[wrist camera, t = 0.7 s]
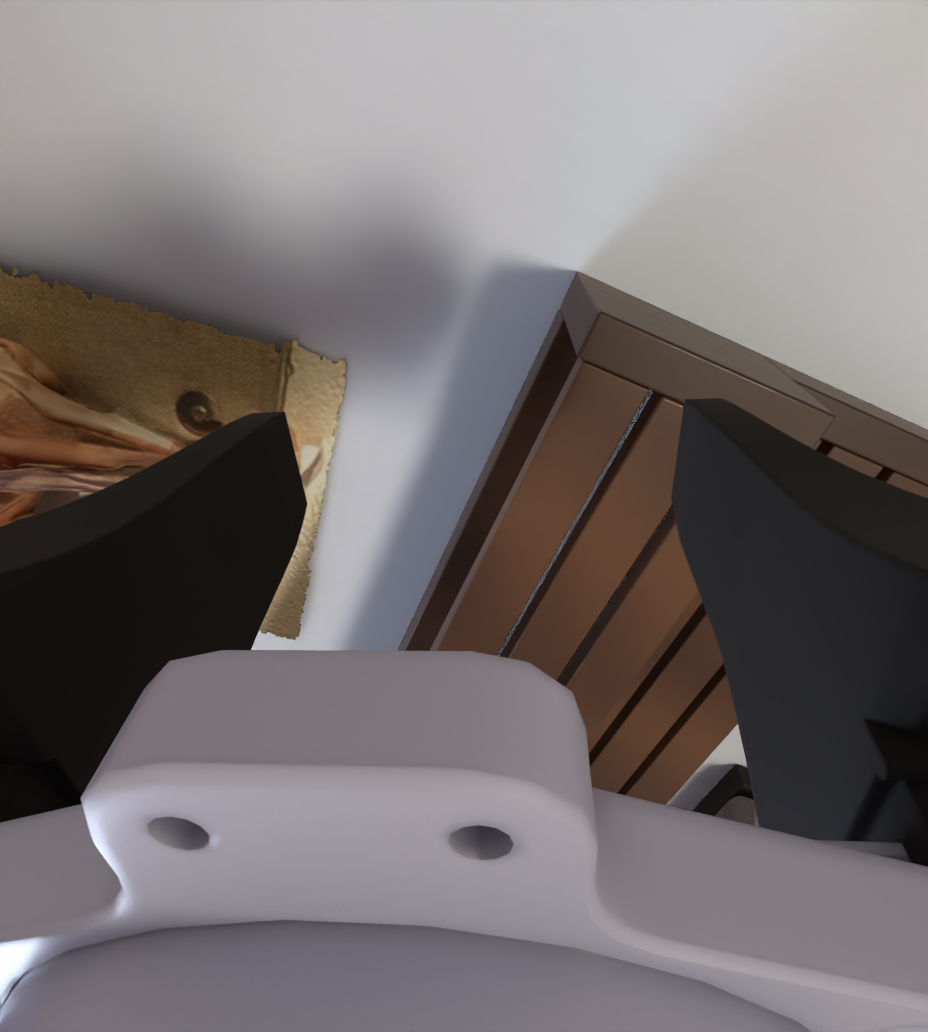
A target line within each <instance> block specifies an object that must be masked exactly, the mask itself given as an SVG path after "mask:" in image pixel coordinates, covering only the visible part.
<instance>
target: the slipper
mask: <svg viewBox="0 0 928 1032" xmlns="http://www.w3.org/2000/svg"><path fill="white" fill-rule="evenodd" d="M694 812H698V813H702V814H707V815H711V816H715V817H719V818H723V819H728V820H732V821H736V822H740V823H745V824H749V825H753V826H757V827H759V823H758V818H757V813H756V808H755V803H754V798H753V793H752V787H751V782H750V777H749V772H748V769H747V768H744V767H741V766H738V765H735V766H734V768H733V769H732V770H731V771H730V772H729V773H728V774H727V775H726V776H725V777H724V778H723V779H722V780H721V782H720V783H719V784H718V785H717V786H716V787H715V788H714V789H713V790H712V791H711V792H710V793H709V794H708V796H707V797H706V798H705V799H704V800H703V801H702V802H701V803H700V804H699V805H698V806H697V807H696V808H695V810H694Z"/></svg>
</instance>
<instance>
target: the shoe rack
mask: <svg viewBox="0 0 928 1032" xmlns="http://www.w3.org/2000/svg"><path fill="white" fill-rule="evenodd" d="M649 389H651V390H653V391H654V392H653V394H652V395H651V397H650V399H649V400H648V402H647V404H646V406H645V407H644V409H643V411H642V412H641V414H640V416H639V418H638V419H637V421H636V423H635V425H634V426H633V428H632V430H631V431H630V433H629V435H628V437H627V438H626V440H625V442H624V443H623V445H622V447H621V449H620V450H619V452H618V454H617V455H616V457H615V459H614V461H613V462H612V464H611V466H610V468H609V469H608V471H607V473H606V474H605V476H604V478H603V480H602V481H601V483H600V485H599V486H598V488H597V490H596V492H595V493H594V495H593V497H592V498H591V500H590V502H589V504H588V505H587V507H586V509H585V510H584V512H583V514H582V516H581V517H580V519H579V521H578V523H577V524H576V526H575V528H574V529H573V531H572V533H571V535H570V536H569V538H568V540H567V541H566V543H565V545H564V547H563V548H562V550H561V552H560V553H559V555H558V557H557V559H556V560H555V562H554V564H553V566H552V567H551V569H550V571H549V572H548V574H547V576H546V578H545V579H544V581H543V583H542V584H541V586H540V588H539V590H538V591H537V593H536V595H535V596H534V598H533V600H532V602H531V603H530V605H529V607H528V608H527V610H526V612H525V614H524V615H523V617H522V619H521V621H520V622H519V624H518V626H517V627H516V629H515V631H514V633H513V634H512V636H511V638H510V639H509V641H508V643H507V645H506V646H505V648H504V650H503V651H502V653H501V655H500V657H505V658H511V659H516V660H521V661H526V662H529V663H531V664H532V665H534V666H535V667H537V668H538V669H540V670H541V671H543V672H544V673H545V674H547V675H548V676H550V677H551V678H553V679H554V680H556V681H557V679H558V678H559V676H560V675H561V673H562V671H563V670H564V668H565V667H566V665H567V664H568V662H569V661H570V659H571V658H572V656H573V655H574V653H575V652H576V650H577V649H578V647H579V646H580V644H581V643H582V641H583V640H584V638H585V636H586V635H587V633H588V632H589V630H590V629H591V627H592V626H593V624H594V623H595V621H596V620H597V618H598V617H599V615H600V614H601V612H602V611H603V609H604V608H605V606H606V604H607V603H608V601H609V600H610V598H611V597H612V595H613V594H614V592H615V591H616V589H617V588H618V586H619V585H620V583H621V582H622V580H623V579H624V577H625V576H626V574H627V573H628V571H629V569H630V568H631V566H632V565H633V563H634V562H635V560H636V559H637V557H638V556H639V554H640V553H641V551H642V550H643V548H644V547H645V545H646V544H647V542H648V541H649V539H650V537H651V536H652V534H653V533H654V531H655V530H656V528H657V527H658V525H659V524H660V522H661V521H662V519H663V518H664V516H665V515H666V513H667V512H668V510H669V509H670V507H671V505H672V499H671V495H672V488H673V481H674V473H675V466H676V459H677V451H678V444H679V437H680V429H681V422H682V415H683V407H684V400H685V399H710V398H722V399H724V400H727V401H729V402H731V403H733V404H735V405H737V406H739V407H740V408H742V409H744V410H746V411H748V412H749V413H751V414H753V415H754V416H756V417H758V418H759V419H761V420H763V421H765V422H766V423H768V424H770V425H771V426H773V427H775V428H777V429H778V430H780V431H782V432H783V433H785V434H787V435H789V436H790V437H792V438H794V439H796V440H798V441H799V442H801V443H803V444H805V445H807V446H809V447H810V448H812V449H814V450H816V451H818V452H820V453H822V454H824V455H826V456H828V457H830V458H832V459H834V460H836V461H838V462H840V463H842V464H844V465H846V466H848V467H850V468H852V469H855V470H857V471H859V472H861V473H864V474H866V475H868V476H871V477H873V478H876V479H878V480H881V481H883V482H886V483H888V484H891V485H893V486H896V487H898V488H901V489H903V490H906V491H909V492H911V493H914V494H917V495H920V496H923V497H926V498H928V430H927V429H924V428H922V427H920V426H918V425H916V424H913V423H911V422H909V421H907V420H905V419H902V418H900V417H898V416H896V415H894V414H891V413H889V412H887V411H885V410H883V409H880V408H878V407H876V406H874V405H872V404H869V403H867V402H865V401H863V400H861V399H858V398H856V397H854V396H852V395H849V394H847V393H845V392H843V391H841V390H838V389H836V388H834V387H832V386H830V385H827V384H825V383H823V382H821V381H819V380H816V379H814V378H812V377H810V376H808V375H805V374H803V373H801V372H799V371H797V370H794V369H792V368H790V367H788V366H786V365H783V364H781V363H779V362H777V361H775V360H772V359H770V358H768V357H766V356H762V355H761V354H759V353H757V352H755V351H753V350H750V349H748V348H746V347H744V346H742V345H739V344H737V343H735V342H733V341H731V340H728V339H726V338H724V337H722V336H720V335H717V334H715V333H713V332H711V331H708V330H706V329H704V328H702V327H700V326H697V325H695V324H693V323H691V322H689V321H686V320H684V319H682V318H680V317H678V316H675V315H673V314H671V313H669V312H667V311H664V310H662V309H660V308H658V307H656V306H653V305H651V304H649V303H647V302H645V301H642V300H640V299H638V298H636V297H634V296H631V295H629V294H627V293H625V292H623V291H620V290H618V289H616V288H614V287H612V286H609V285H607V284H605V283H603V282H600V281H598V280H596V279H594V278H592V277H589V276H587V275H585V274H583V273H581V272H577V273H576V275H575V277H574V279H573V281H572V283H571V285H570V287H569V289H568V292H567V294H566V296H565V298H564V300H563V302H562V304H561V309H559V310H558V312H557V315H556V317H555V319H554V321H553V323H552V325H551V327H550V329H549V331H548V334H547V336H546V338H545V340H544V342H543V344H542V346H541V348H540V350H539V353H538V355H537V357H536V359H535V361H534V363H533V365H532V367H531V369H530V372H529V374H528V376H527V378H526V380H525V382H524V384H523V386H522V389H521V391H520V393H519V395H518V397H517V399H516V401H515V403H514V405H513V408H512V410H511V412H510V414H509V416H508V418H507V420H506V422H505V424H504V427H503V429H502V431H501V433H500V435H499V437H498V439H497V441H496V443H495V446H494V448H493V450H492V452H491V454H490V456H489V458H488V460H487V462H486V465H485V467H484V469H483V471H482V473H481V475H480V477H479V479H478V481H477V484H476V486H475V488H474V490H473V492H472V494H471V496H470V498H469V500H468V503H467V505H466V507H465V509H464V511H463V513H462V515H461V517H460V519H459V522H458V524H457V526H456V528H455V530H454V532H453V534H452V536H451V538H450V541H449V543H448V545H447V547H446V549H445V551H444V553H443V555H442V558H441V560H440V562H439V564H438V566H437V568H436V570H435V572H434V574H433V577H432V579H431V581H430V583H429V585H428V587H427V589H426V591H425V593H424V596H423V598H422V600H421V602H420V604H419V606H418V608H417V610H416V612H415V615H414V617H413V619H412V621H411V623H410V625H409V627H408V629H407V631H406V634H405V636H404V638H403V640H402V642H401V644H400V646H399V648H398V650H397V651H474V652H479V653H484V654H489V655H495V656H496V655H497V653H498V651H499V650H500V648H501V646H502V644H503V643H504V641H505V639H506V637H507V636H508V634H509V632H510V630H511V629H512V627H513V625H514V624H515V622H516V620H517V618H518V617H519V615H520V613H521V611H522V610H523V608H524V606H525V604H526V603H527V601H528V599H529V598H530V596H531V594H532V592H533V591H534V589H535V587H536V585H537V584H538V582H539V580H540V579H541V577H542V575H543V573H544V572H545V570H546V568H547V566H548V565H549V563H550V561H551V559H552V558H553V556H554V554H555V553H556V551H557V549H558V547H559V546H560V544H561V542H562V540H563V539H564V537H565V535H566V533H567V532H568V530H569V528H570V527H571V525H572V523H573V521H574V520H575V518H576V516H577V514H578V513H579V511H580V509H581V508H582V506H583V504H584V502H585V501H586V499H587V497H588V495H589V494H590V492H591V490H592V488H593V487H594V485H595V483H596V482H597V480H598V478H599V476H600V475H601V473H602V471H603V469H604V468H605V466H606V464H607V462H608V461H609V459H610V457H611V456H612V454H613V452H614V450H615V449H616V447H617V445H618V443H619V442H620V440H621V438H622V437H623V435H624V433H625V431H626V430H627V428H628V426H629V424H630V423H631V421H632V419H633V417H634V416H635V414H636V412H637V411H638V409H639V407H640V405H641V404H642V402H643V400H644V398H645V397H646V395H647V393H648V391H649ZM557 682H559V683H560V684H562V685H563V686H564V687H566V688H567V689H569V690H570V691H572V692H573V694H574V697H575V700H576V703H577V705H578V708H579V711H580V713H581V716H582V719H583V722H584V724H585V727H586V733H587V743H588V754H589V764H590V774H591V784H592V788H596V789H600V790H605V791H609V792H613V793H617V794H622V795H626V796H630V797H634V798H639V799H643V800H647V801H651V802H656V803H660V804H664V805H666V804H667V803H668V801H669V800H670V799H671V798H672V797H673V796H674V795H675V794H676V792H677V791H678V790H679V789H680V788H681V787H682V786H683V785H684V783H685V782H686V781H687V780H688V779H689V778H690V777H691V776H692V774H693V773H694V772H695V771H696V770H697V769H698V768H699V767H700V765H701V764H702V763H703V762H704V761H705V760H706V759H707V758H708V756H709V755H710V754H711V753H712V752H713V751H714V750H715V749H716V747H717V746H718V745H719V744H720V743H721V742H722V741H723V740H724V738H725V737H726V736H727V735H728V734H729V733H730V732H731V731H732V729H733V728H734V727H735V726H736V725H737V724H738V721H737V716H736V712H735V707H734V703H733V699H732V695H731V691H730V687H729V682H728V678H727V674H726V670H725V666H724V662H723V658H722V655H721V652H720V649H719V646H718V643H717V639H716V636H715V634H714V631H713V628H712V626H711V623H710V621H709V618H708V615H707V613H706V610H705V607H704V605H703V602H702V599H701V597H700V594H699V591H698V589H697V586H696V583H695V581H694V578H693V576H692V573H691V570H690V567H689V565H688V562H687V559H686V557H685V554H684V551H683V548H682V545H681V543H680V539H679V534H678V529H677V525H676V520H675V515H674V509H673V507H672V508H671V510H670V511H669V513H668V514H667V516H666V517H665V519H664V520H663V522H662V523H661V525H660V526H659V528H658V529H657V531H656V532H655V534H654V535H653V537H652V538H651V540H650V541H649V543H648V544H647V546H646V548H645V549H644V551H643V552H642V554H641V555H640V557H639V558H638V560H637V561H636V563H635V564H634V566H633V567H632V569H631V570H630V572H629V573H628V575H627V576H626V578H625V579H624V581H623V582H622V584H621V586H620V587H619V589H618V590H617V592H616V593H615V595H614V596H613V598H612V599H611V601H610V602H609V604H608V605H607V607H606V608H605V610H604V611H603V613H602V614H601V616H600V617H599V619H598V620H597V622H596V623H595V625H594V627H593V628H592V630H591V631H590V633H589V634H588V636H587V637H586V639H585V640H584V642H583V643H582V645H581V646H580V648H579V649H578V651H577V652H576V654H575V655H574V657H573V658H572V660H571V661H570V663H569V665H568V666H567V668H566V669H565V671H564V672H563V674H562V675H561V677H560V678H559V680H558V681H557Z"/></svg>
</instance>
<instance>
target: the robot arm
mask: <svg viewBox="0 0 928 1032" xmlns="http://www.w3.org/2000/svg"><path fill="white" fill-rule="evenodd" d="M671 499H672V504H673V509H674V515H675V520H676V525H677V529H678V534H679V539H680V543H681V545H682V548H683V551H684V554H685V557H686V559H687V562H688V565H689V567H690V570H691V573H692V576H693V578H694V581H695V583H696V586H697V589H698V591H699V594H700V597H701V599H702V602H703V605H704V607H705V610H706V613H707V615H708V618H709V621H710V623H711V626H712V628H713V631H714V634H715V636H716V639H717V643H718V646H719V649H720V652H721V655H722V658H723V662H724V666H725V670H726V674H727V678H728V682H729V687H730V691H731V695H732V699H733V703H734V707H735V712H736V716H737V721H738V725H739V730H740V734H741V739H742V744H743V748H744V753H745V757H746V762H747V767H748V772H749V777H750V782H751V787H752V793H753V798H754V803H755V808H756V813H757V818H758V823H759V827H757V826H753V825H749V824H745V823H740V822H736V821H732V820H728V819H723V818H719V817H715V816H711V815H707V814H702V813H698V812H694V811H690V810H685V809H681V808H677V807H673V806H668V805H664V804H660V803H656V802H651V801H647V800H643V799H639V798H634V797H630V796H626V795H622V794H617V793H613V792H609V791H605V790H600V789H596V788H592V784H591V774H590V764H589V754H588V743H587V733H586V727H585V724H584V722H583V719H582V716H581V713H580V711H579V708H578V705H577V703H576V700H575V697H574V694H573V692H572V691H570V690H569V689H567V688H566V687H564V686H563V685H562V684H560V683H559V682H557V681H556V680H554V679H553V678H551V677H550V676H548V675H547V674H545V673H544V672H543V671H541V670H540V669H538V668H537V667H535V666H534V665H532V664H531V663H529V662H526V661H521V660H516V659H511V658H505V657H500V656H495V655H489V654H484V653H479V652H474V651H315V650H251V648H252V646H253V643H254V641H255V638H256V636H257V633H258V631H259V629H260V627H261V625H262V622H263V620H264V618H265V616H266V613H267V611H268V609H269V607H270V605H271V602H272V600H273V598H274V596H275V594H276V591H277V589H278V587H279V585H280V583H281V580H282V578H283V576H284V574H285V571H286V569H287V567H288V565H289V562H290V560H291V558H292V555H293V553H294V551H295V548H296V546H297V542H298V539H299V535H300V532H301V528H302V524H303V520H304V516H305V512H306V508H307V500H306V496H305V491H304V487H303V483H302V479H301V475H300V471H299V467H298V463H297V459H296V455H295V451H294V447H293V443H292V439H291V434H290V430H289V426H288V422H287V418H286V414H285V412H263V413H251V414H248V415H246V416H243V417H241V418H239V419H237V420H234V421H232V422H230V423H228V424H227V425H225V426H223V427H221V428H219V429H217V430H215V431H214V432H212V433H210V434H208V435H206V436H205V437H203V438H201V439H199V440H197V441H196V442H194V443H192V444H190V445H188V446H187V447H185V448H183V449H181V450H179V451H178V452H176V453H174V454H172V455H170V456H169V457H167V458H165V459H163V460H161V461H159V462H157V463H155V464H153V465H151V466H149V467H147V468H145V469H143V470H141V471H139V472H137V473H135V474H134V475H132V476H130V477H128V478H126V479H124V480H122V481H119V482H117V483H115V484H113V485H111V486H109V487H106V488H104V489H102V490H100V491H97V492H95V493H93V494H90V495H88V496H85V497H83V498H80V499H78V500H75V501H73V502H71V503H68V504H65V505H63V506H60V507H58V508H55V509H52V510H49V511H46V512H43V513H40V514H37V515H34V516H31V517H28V518H25V519H22V520H19V521H16V522H13V523H10V524H7V525H4V526H1V527H0V1032H928V498H926V497H923V496H920V495H917V494H914V493H911V492H909V491H906V490H903V489H901V488H898V487H896V486H893V485H891V484H888V483H886V482H883V481H881V480H878V479H876V478H873V477H871V476H868V475H866V474H864V473H861V472H859V471H857V470H855V469H852V468H850V467H848V466H846V465H844V464H842V463H840V462H838V461H836V460H834V459H832V458H830V457H828V456H826V455H824V454H822V453H820V452H818V451H816V450H814V449H812V448H810V447H809V446H807V445H805V444H803V443H801V442H799V441H798V440H796V439H794V438H792V437H790V436H789V435H787V434H785V433H783V432H782V431H780V430H778V429H777V428H775V427H773V426H771V425H770V424H768V423H766V422H765V421H763V420H761V419H759V418H758V417H756V416H754V415H753V414H751V413H749V412H748V411H746V410H744V409H742V408H740V407H739V406H737V405H735V404H733V403H731V402H729V401H727V400H724V399H722V398H710V399H685V400H684V407H683V415H682V422H681V429H680V437H679V444H678V451H677V459H676V466H675V473H674V481H673V488H672V495H671Z"/></svg>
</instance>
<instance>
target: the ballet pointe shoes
mask: <svg viewBox="0 0 928 1032" xmlns="http://www.w3.org/2000/svg"><path fill="white" fill-rule="evenodd" d="M17 274H18V269H17V268H14V267H13V269H12V275H17ZM53 284H54V288H53V289H52V288H51V287H50V286H49V285H48V283H47V281H45V282H44V283H41V281H40V278H39V277H38V275H36V274H35V273H31V274H30V276H29V278H28V277H24V276H22V278H21V279H20V278H19V277H18V276H17V278H16V279H15V278H14V277H13V276H8V275H7V273H3V272H2V270H1V268H0V527H1V526H4V525H7V524H10V523H13V522H16V521H19V520H22V519H25V518H28V517H31V516H34V515H37V514H40V513H43V512H46V511H49V510H52V509H55V508H58V507H60V506H63V505H65V504H68V503H71V502H73V501H75V500H78V499H80V498H83V497H85V496H88V495H90V494H93V493H95V492H97V491H100V490H102V489H104V488H106V487H109V486H111V485H113V484H115V483H117V482H119V481H122V480H124V479H126V478H128V477H130V476H132V475H134V474H135V473H137V472H139V471H141V470H143V469H145V468H147V467H149V466H151V465H153V464H155V463H157V462H159V461H161V460H163V459H165V458H167V457H169V456H170V455H172V454H174V453H176V452H178V451H179V450H181V449H183V448H185V447H187V446H188V445H190V444H192V443H194V442H196V441H197V440H199V439H201V438H203V437H205V436H206V435H208V434H210V433H212V432H214V431H215V430H217V429H219V428H221V427H223V426H225V425H227V424H228V423H230V422H232V421H234V420H237V419H239V418H241V417H243V416H246V415H248V414H251V413H263V412H285V414H286V418H287V422H288V426H289V430H290V434H291V439H292V443H293V447H294V451H295V455H296V459H297V463H298V467H299V471H300V475H301V479H302V483H303V487H304V491H305V496H306V500H307V508H306V512H305V516H304V520H303V524H302V528H301V532H300V535H299V539H298V542H297V546H296V548H295V551H294V553H293V555H292V558H291V560H290V562H289V565H288V567H287V569H286V571H285V574H284V576H283V578H282V580H281V583H280V585H279V587H278V589H277V591H276V594H275V596H274V598H273V600H272V602H271V605H270V607H269V609H268V611H267V613H266V616H265V618H264V620H263V622H262V625H261V627H260V629H259V631H260V630H261V632H262V633H265V634H266V633H267V632H271V633H273V634H275V635H276V636H280V637H286V638H287V639H293V640H296V637H298V636H299V632H300V626H301V624H300V619H299V618H301V617H299V616H300V615H301V614H302V613H303V612H304V611H303V608H302V607H303V606H304V602H305V599H306V598H305V596H306V594H305V592H306V589H307V587H308V585H309V577H308V576H307V575H308V574H309V573H310V572H311V570H310V571H309V569H308V566H307V562H308V560H310V555H311V554H312V553H311V552H313V550H314V546H313V545H312V543H311V541H312V540H314V539H315V538H316V534H315V533H317V532H316V531H315V530H317V529H316V528H315V526H316V525H318V521H319V518H320V517H319V515H320V514H321V513H320V510H321V505H322V502H323V499H322V496H323V495H324V492H323V489H324V488H325V485H326V483H327V481H326V470H330V468H329V466H328V465H327V464H328V463H329V462H330V460H329V459H330V458H332V453H331V451H330V450H332V445H334V444H335V443H334V442H335V440H336V439H335V436H333V435H332V433H333V430H334V428H335V427H338V425H337V419H336V418H335V417H340V416H339V415H337V413H336V411H338V410H340V408H339V405H340V404H342V397H343V391H344V388H345V386H344V383H345V381H346V379H345V378H343V374H344V373H345V372H346V371H345V370H346V362H345V360H344V359H341V360H340V361H339V362H338V363H332V361H331V359H327V358H326V356H324V357H323V359H322V360H321V359H320V357H319V355H318V354H315V353H312V352H309V351H307V350H306V349H304V348H302V347H298V342H297V341H296V340H297V339H298V338H297V339H296V340H292V341H290V342H289V341H287V340H286V341H283V344H282V347H281V352H280V354H279V352H276V350H275V344H273V343H272V344H271V345H269V346H266V345H265V344H264V343H263V342H261V341H252V339H251V338H250V337H249V338H247V339H246V338H245V337H244V338H242V337H241V336H240V335H238V336H232V335H231V336H226V333H225V335H224V334H223V333H222V332H219V333H217V332H218V329H217V328H215V327H211V326H210V325H203V324H202V323H200V322H197V321H192V320H189V319H188V320H187V321H186V322H185V323H184V324H183V323H182V322H181V321H180V319H172V317H171V316H170V315H166V314H164V313H162V312H159V311H156V312H154V313H150V312H149V311H148V310H147V307H145V308H143V309H142V308H141V307H140V306H139V305H138V304H137V303H135V304H132V303H130V302H129V301H126V302H124V303H122V304H121V303H120V302H119V301H118V300H117V302H116V303H115V302H114V299H113V298H112V297H102V296H101V295H100V294H93V293H92V296H93V297H92V298H91V300H90V299H89V298H88V297H87V296H86V294H85V293H84V292H83V291H82V290H81V289H80V288H74V287H72V286H70V285H69V284H66V285H62V286H61V285H60V284H59V283H58V282H57V281H56V280H54V282H53ZM311 539H312V540H311Z"/></svg>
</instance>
